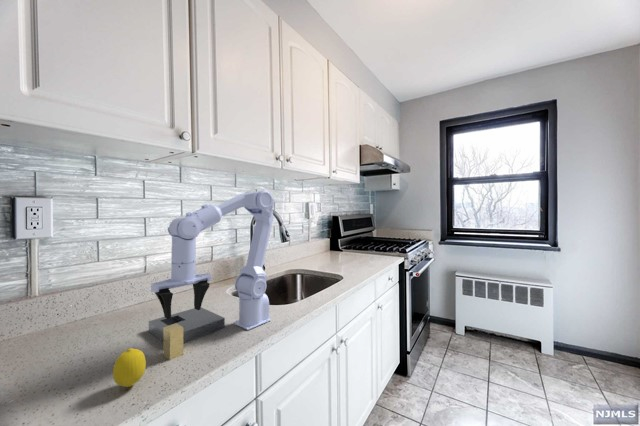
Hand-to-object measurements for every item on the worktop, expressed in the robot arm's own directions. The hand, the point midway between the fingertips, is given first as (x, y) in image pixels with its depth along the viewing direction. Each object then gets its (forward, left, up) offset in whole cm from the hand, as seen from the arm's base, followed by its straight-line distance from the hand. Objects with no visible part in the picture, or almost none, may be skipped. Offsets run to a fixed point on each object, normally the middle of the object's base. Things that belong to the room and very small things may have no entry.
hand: (183, 313), depth 68 cm
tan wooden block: (+2, 0, -10) cm, 10 cm away
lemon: (+13, +6, -10) cm, 18 cm away
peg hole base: (-7, -12, -10) cm, 17 cm away
